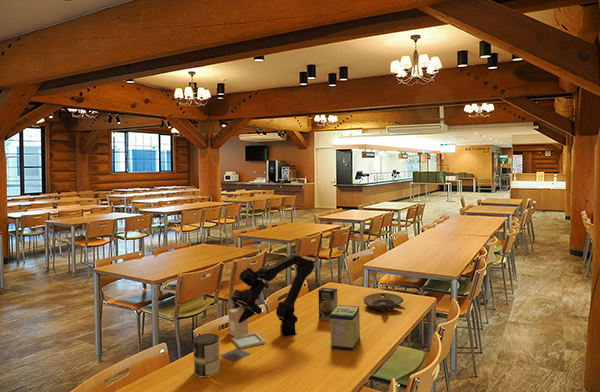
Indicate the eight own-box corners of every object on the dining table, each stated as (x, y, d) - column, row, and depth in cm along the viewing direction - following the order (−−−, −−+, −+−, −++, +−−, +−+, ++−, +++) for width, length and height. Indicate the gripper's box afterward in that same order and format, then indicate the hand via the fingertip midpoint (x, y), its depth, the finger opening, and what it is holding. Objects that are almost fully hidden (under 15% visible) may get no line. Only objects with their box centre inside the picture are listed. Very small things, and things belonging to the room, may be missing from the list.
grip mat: (237, 348, 200) (237, 348, 200) (251, 354, 193) (251, 354, 193) (219, 356, 193) (219, 355, 193) (233, 362, 186) (233, 361, 186)
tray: (255, 335, 215) (255, 332, 215) (265, 344, 204) (265, 340, 204) (231, 340, 210) (231, 337, 210) (239, 349, 199) (239, 346, 199)
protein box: (360, 338, 208) (359, 306, 207) (353, 351, 193) (352, 316, 192) (338, 336, 212) (338, 304, 211) (330, 348, 197) (329, 314, 196)
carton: (241, 330, 203) (240, 306, 202) (248, 333, 198) (247, 309, 197) (229, 334, 198) (227, 310, 198) (236, 337, 194) (234, 313, 193)
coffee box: (318, 319, 235) (317, 290, 234) (322, 315, 241) (321, 287, 240) (334, 321, 232) (333, 291, 231) (338, 317, 238) (337, 288, 237)
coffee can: (192, 379, 172) (190, 344, 171) (196, 367, 182) (194, 334, 181) (219, 377, 173) (217, 342, 172) (221, 365, 183) (220, 332, 182)
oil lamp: (408, 304, 257) (408, 291, 257) (390, 319, 232) (390, 305, 231) (373, 299, 269) (373, 286, 269) (352, 313, 244) (352, 300, 243)
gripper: (232, 278, 206) (213, 307, 200) (254, 285, 192) (234, 317, 186) (247, 291, 212) (229, 319, 206) (270, 299, 197) (251, 329, 191)
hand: (235, 321), depth 197 cm, fingers closed on carton, 6 cm apart
